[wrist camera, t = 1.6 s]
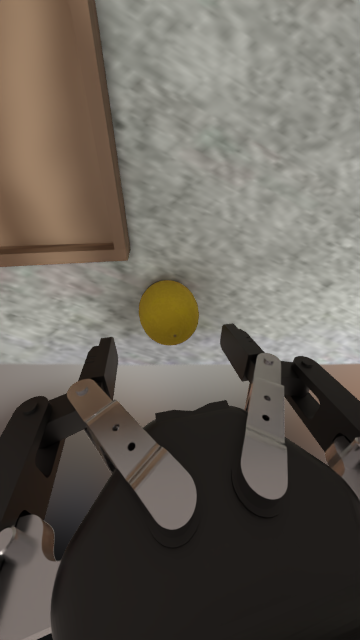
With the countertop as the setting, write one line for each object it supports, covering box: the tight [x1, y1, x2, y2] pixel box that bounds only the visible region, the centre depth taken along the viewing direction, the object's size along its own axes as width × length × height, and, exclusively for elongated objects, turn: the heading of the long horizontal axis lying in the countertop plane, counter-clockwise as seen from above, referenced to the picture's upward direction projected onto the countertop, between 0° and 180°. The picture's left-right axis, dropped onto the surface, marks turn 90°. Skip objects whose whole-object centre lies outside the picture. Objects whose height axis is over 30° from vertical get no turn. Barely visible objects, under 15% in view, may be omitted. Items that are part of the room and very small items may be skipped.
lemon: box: [139, 280, 199, 345], centre depth 17 cm, size 6×6×8 cm
